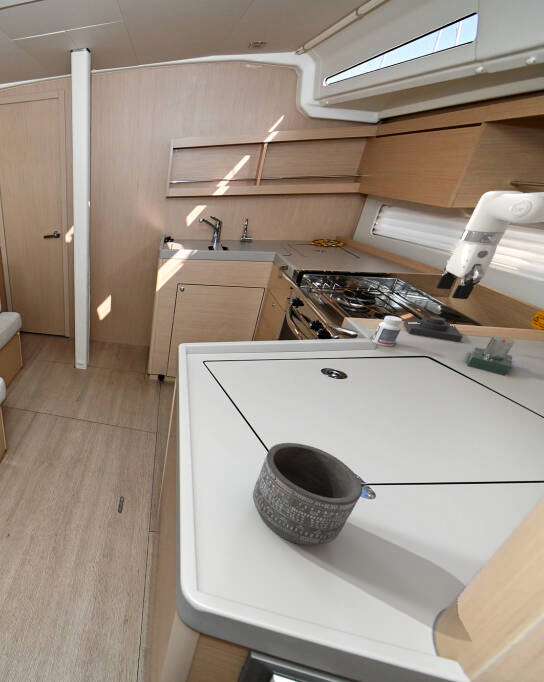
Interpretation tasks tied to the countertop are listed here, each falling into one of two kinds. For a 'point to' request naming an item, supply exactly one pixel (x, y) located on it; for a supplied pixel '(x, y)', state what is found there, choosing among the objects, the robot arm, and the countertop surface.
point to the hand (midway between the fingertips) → (450, 293)
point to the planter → (305, 493)
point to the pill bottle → (387, 331)
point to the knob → (498, 347)
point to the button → (436, 320)
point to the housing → (433, 330)
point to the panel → (489, 362)
